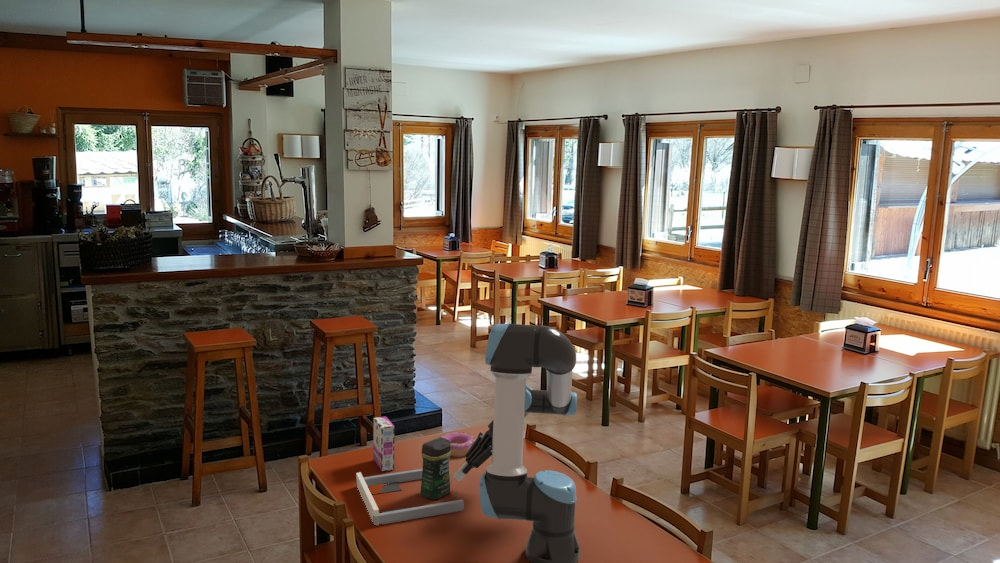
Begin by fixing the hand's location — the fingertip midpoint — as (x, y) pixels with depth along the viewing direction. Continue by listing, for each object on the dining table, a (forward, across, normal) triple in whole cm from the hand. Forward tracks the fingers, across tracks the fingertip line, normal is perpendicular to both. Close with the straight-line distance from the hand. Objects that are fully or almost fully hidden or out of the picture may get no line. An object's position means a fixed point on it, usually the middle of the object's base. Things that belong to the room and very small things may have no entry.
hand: (455, 478), depth 241 cm
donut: (-4, +30, -11) cm, 33 cm away
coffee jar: (+8, -1, +2) cm, 8 cm away
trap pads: (+18, -1, +13) cm, 22 cm away
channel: (+14, -1, +9) cm, 17 cm away
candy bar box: (+16, +26, +10) cm, 32 cm away
